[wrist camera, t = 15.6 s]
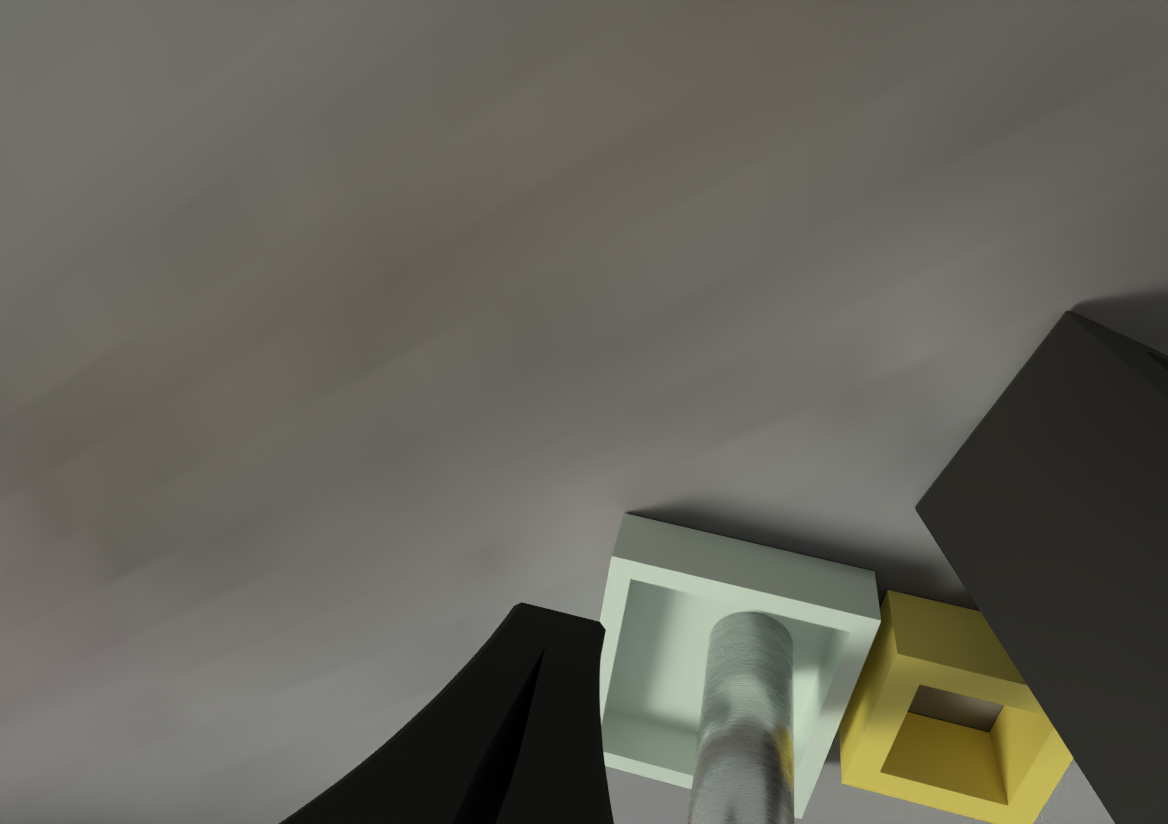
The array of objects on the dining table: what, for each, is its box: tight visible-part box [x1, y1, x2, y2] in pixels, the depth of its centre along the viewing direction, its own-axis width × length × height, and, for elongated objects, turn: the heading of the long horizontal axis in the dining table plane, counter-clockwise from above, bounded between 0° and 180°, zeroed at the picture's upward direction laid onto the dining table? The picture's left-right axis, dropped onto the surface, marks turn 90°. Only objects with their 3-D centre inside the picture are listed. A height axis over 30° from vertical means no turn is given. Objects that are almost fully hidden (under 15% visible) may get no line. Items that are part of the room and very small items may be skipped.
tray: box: [600, 513, 881, 819], centre depth 25 cm, size 8×7×2 cm
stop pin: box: [688, 612, 794, 824], centre depth 21 cm, size 3×3×9 cm
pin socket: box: [839, 590, 1073, 824], centre depth 23 cm, size 5×5×2 cm
